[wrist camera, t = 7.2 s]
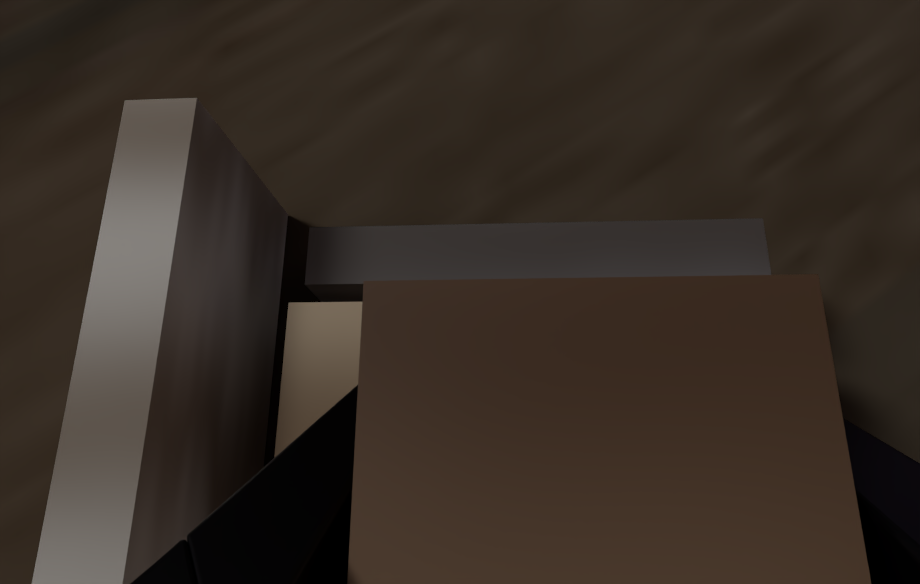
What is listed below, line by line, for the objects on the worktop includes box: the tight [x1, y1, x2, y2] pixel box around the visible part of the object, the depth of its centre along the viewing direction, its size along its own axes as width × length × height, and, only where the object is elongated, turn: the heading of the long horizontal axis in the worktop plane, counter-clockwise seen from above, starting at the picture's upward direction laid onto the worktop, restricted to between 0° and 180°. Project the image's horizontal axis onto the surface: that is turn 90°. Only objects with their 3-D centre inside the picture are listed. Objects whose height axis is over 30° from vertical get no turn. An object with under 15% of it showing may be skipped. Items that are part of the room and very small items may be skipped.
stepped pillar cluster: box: [32, 98, 771, 584], centre depth 14 cm, size 14×14×6 cm
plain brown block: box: [347, 274, 871, 584], centre depth 10 cm, size 4×4×10 cm
